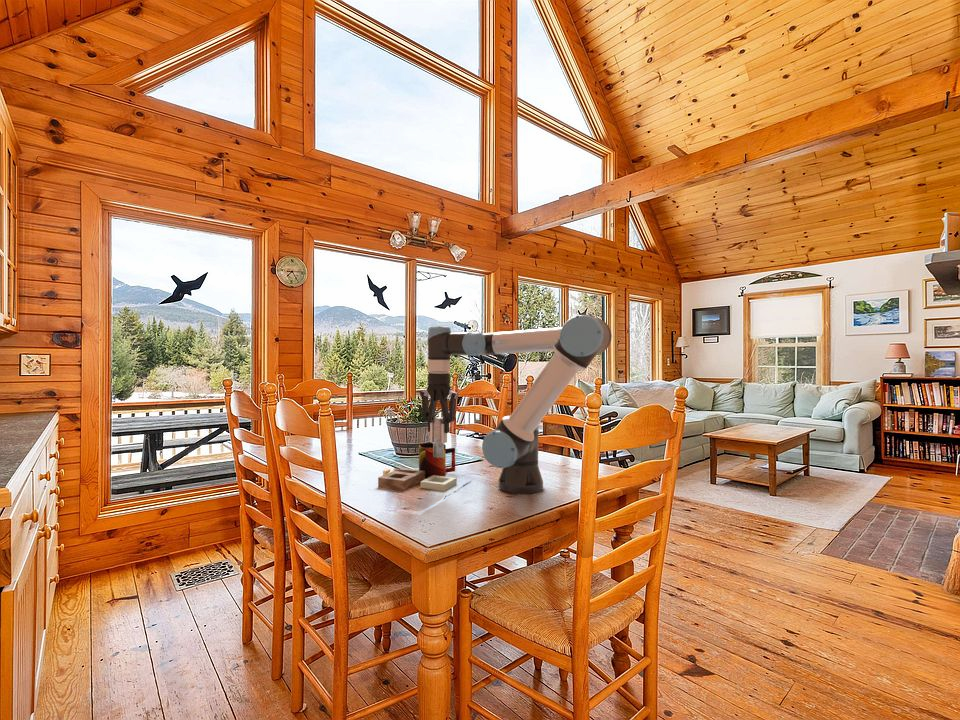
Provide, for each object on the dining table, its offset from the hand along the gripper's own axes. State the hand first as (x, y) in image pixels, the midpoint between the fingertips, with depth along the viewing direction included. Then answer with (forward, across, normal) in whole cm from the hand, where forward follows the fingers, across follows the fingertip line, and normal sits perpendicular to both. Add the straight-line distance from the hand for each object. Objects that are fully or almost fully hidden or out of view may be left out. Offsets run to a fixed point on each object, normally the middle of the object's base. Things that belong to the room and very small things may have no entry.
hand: (438, 442), depth 163 cm
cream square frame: (+16, 0, 0) cm, 16 cm away
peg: (+5, 0, 0) cm, 5 cm away
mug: (+16, +8, -13) cm, 22 cm away
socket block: (+16, +13, +2) cm, 20 cm away
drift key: (+16, +17, -2) cm, 23 cm away
